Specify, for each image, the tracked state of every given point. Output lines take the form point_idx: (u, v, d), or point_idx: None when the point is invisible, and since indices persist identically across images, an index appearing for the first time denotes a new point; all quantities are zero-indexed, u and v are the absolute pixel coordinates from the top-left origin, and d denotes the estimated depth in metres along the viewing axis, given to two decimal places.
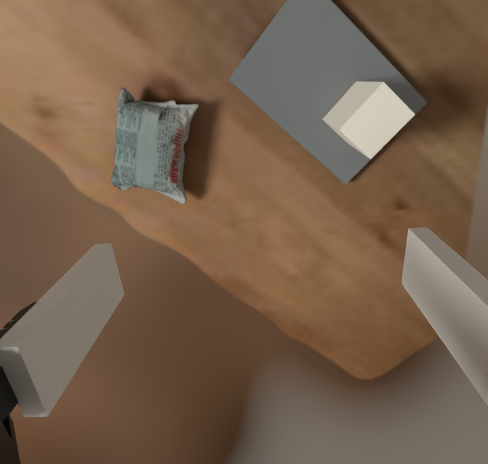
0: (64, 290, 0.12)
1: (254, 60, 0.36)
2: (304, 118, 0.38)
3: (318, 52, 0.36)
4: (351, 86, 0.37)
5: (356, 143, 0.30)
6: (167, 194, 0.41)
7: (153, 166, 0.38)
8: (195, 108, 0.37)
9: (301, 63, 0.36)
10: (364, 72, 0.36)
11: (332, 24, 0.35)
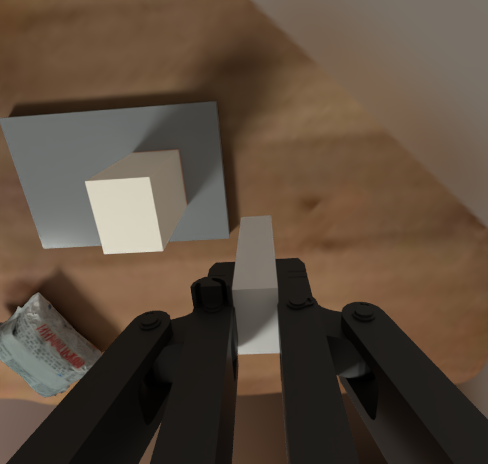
0: (251, 250, 0.14)
1: (43, 217, 0.32)
2: None
3: (77, 162, 0.30)
4: None
5: (133, 250, 0.23)
6: None
7: (50, 371, 0.35)
8: (38, 297, 0.34)
9: (76, 184, 0.30)
10: (131, 137, 0.29)
11: (61, 131, 0.29)
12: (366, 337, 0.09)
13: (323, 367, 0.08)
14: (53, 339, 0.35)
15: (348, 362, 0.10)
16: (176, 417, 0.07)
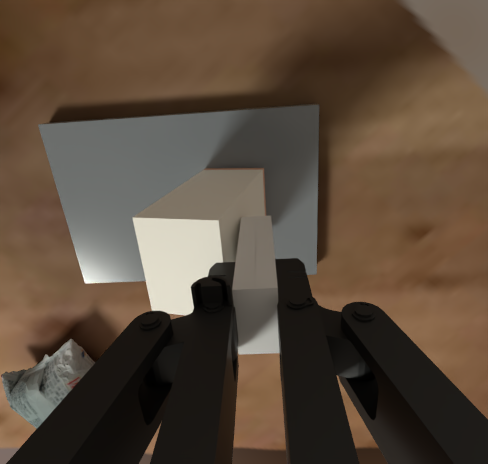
0: (251, 250, 0.14)
1: (86, 246, 0.26)
2: None
3: (134, 180, 0.24)
4: None
5: (189, 312, 0.16)
6: None
7: None
8: (70, 344, 0.28)
9: (131, 206, 0.24)
10: (205, 150, 0.23)
11: (116, 141, 0.23)
12: (366, 337, 0.09)
13: (323, 367, 0.08)
14: None
15: (348, 362, 0.10)
16: (176, 417, 0.07)
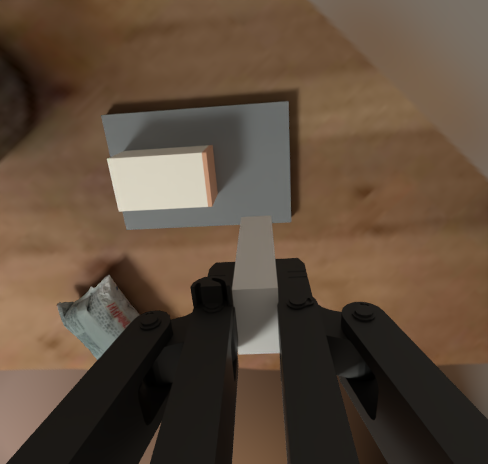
0: (251, 250, 0.14)
1: None
2: None
3: None
4: None
5: None
6: None
7: None
8: (108, 279, 0.39)
9: None
10: (212, 132, 0.33)
11: (153, 126, 0.33)
12: (366, 337, 0.09)
13: (323, 367, 0.08)
14: (120, 316, 0.40)
15: (348, 362, 0.10)
16: (176, 417, 0.07)
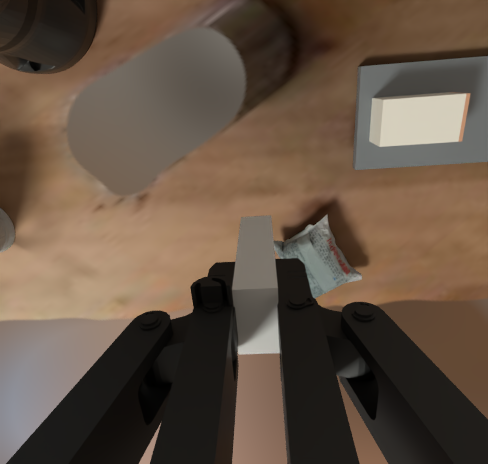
0: (251, 250, 0.14)
1: (364, 144, 0.43)
2: (430, 146, 0.43)
3: None
4: None
5: (374, 142, 0.41)
6: (346, 281, 0.50)
7: (329, 274, 0.47)
8: (326, 217, 0.46)
9: None
10: (454, 80, 0.40)
11: (403, 75, 0.40)
12: (366, 337, 0.09)
13: (323, 367, 0.08)
14: (335, 250, 0.46)
15: (348, 362, 0.10)
16: (176, 417, 0.07)
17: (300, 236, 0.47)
